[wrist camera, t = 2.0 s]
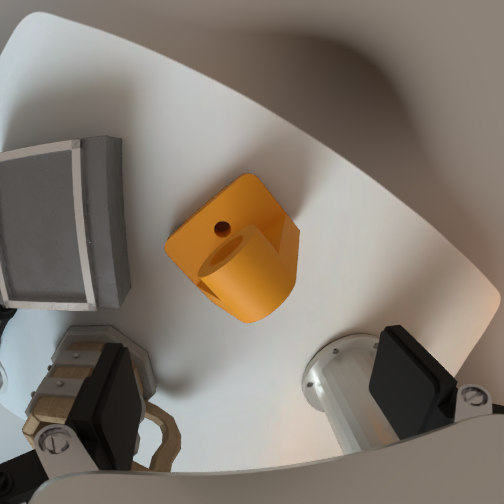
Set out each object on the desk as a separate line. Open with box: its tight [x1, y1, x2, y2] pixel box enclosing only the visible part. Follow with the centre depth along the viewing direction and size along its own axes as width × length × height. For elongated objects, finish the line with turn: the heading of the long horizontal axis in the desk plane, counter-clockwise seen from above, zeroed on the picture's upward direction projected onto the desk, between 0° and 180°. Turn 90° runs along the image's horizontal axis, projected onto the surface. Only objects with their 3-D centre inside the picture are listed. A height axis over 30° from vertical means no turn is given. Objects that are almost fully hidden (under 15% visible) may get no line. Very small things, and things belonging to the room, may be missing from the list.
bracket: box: [165, 173, 300, 323], centre depth 26 cm, size 11×7×12 cm, turn 129°
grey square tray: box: [0, 136, 131, 311], centre depth 27 cm, size 15×15×6 cm
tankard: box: [22, 326, 181, 472], centre depth 29 cm, size 20×13×15 cm, turn 48°
